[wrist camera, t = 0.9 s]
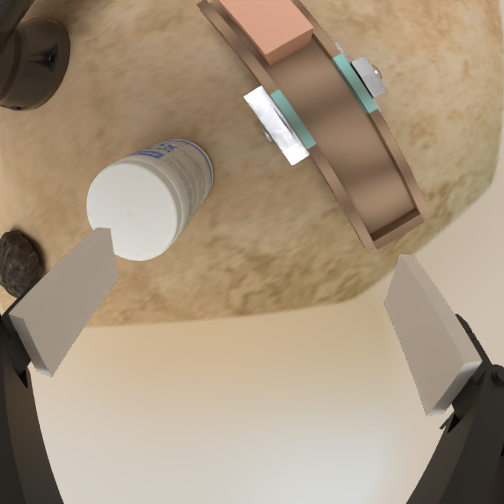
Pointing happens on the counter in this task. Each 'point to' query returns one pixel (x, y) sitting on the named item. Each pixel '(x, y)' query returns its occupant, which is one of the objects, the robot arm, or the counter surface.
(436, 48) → the counter surface
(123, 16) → the counter surface
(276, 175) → the counter surface
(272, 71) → the beam
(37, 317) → the robot arm
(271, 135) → the stand
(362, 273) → the counter surface
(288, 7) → the block
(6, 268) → the rock
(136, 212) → the supplement tub
